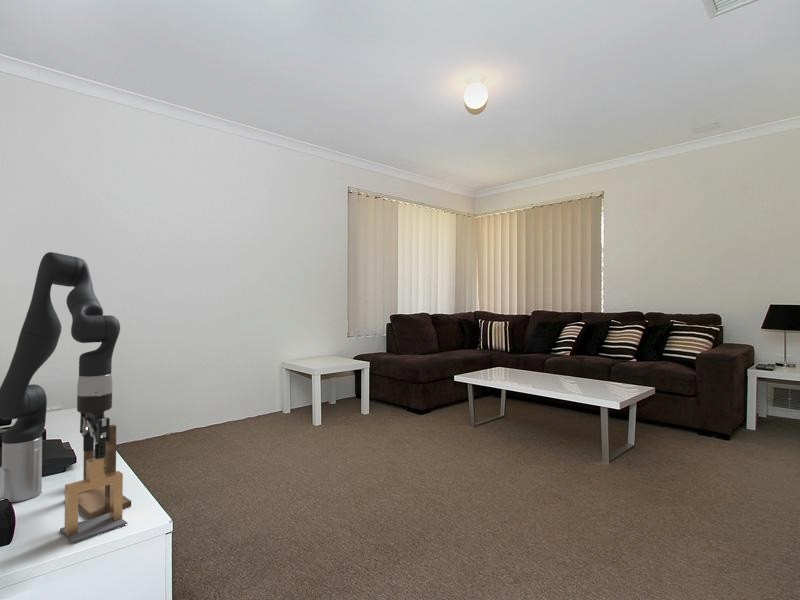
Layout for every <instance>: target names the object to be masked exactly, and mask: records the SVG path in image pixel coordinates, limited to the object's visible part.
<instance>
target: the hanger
mask: <svg viewBox="0 0 800 600" xmlns="http://www.w3.org/2000/svg"><path fill="white" fill-rule="evenodd" d="M123 479H124V475H123V473H122V472H121V471H120V470H116V472H112V473H108V474H104V459H102V458H100V459H95V458H93V459H88V460H86V479H85V480H83V479H82V480H78V481H74V482H69V483H67V484H65V485H64V527H65V534H66V535H67V536H71V535H74V534H77V533H78V523H79V509H78V493H81V492H85V491H88V490H92V489H95V488H99V487H103V486H106V485H110V518H111V519H112V520H113V521H116V520H119V519H123V509H122V499H123V496H124V495H123V491H124V490H123V486H124V485H123V483H124V482H123Z"/></svg>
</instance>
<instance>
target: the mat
mask: <svg viewBox="0 0 800 600" xmlns="http://www.w3.org/2000/svg"><path fill="white" fill-rule="evenodd" d="M125 524H127V525H128V522H127V521H126V520H124V518H122V519H119V520H116V521H113V520H112V519H111V518H110V513H107V514H104V515H101V516H97V517H94V518H91V519H90V518H88V519H85V520H82V521H78V533H77V534H74V535H71V536H67V535H66V534H65V526H64V527H60V528H59V531H60V533H61V534H62V536H64V537H65V538H66V539H67V540H68V541H69V542H70V543H71V544H72V545H73V544H77V543H79V542H82V541H85V540H88V539H91V538H94V537H96V535H97V536H99V535H98V534H100V535H102V534H101V533H103V534H105V533H108V532H111V531H113V529H114V530H117V529H119V528H118V527H120V528H122V527H121V526H123V525H125ZM125 526H126V525H125ZM123 527H124V526H123ZM116 528H117V529H116ZM110 530H111V531H110ZM107 531H108V532H107ZM104 532H105V533H104ZM93 536H94V537H93Z"/></svg>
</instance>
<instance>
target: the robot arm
mask: <svg viewBox="0 0 800 600" xmlns="http://www.w3.org/2000/svg"><path fill="white" fill-rule="evenodd" d="M52 285H57V286H63V287H71V288H72V287H73V289H71V291H69V293H68V295H67V296H66V301H65V302H66V306H67V309H68V311H69V313H70V316H71V318H72V322H71V327H70V332H71V333H70V335H71V337H72V339H73V340H75V341H76V342H78V343H82V344H88V343H101V344H100V345H99V346H98V348H96V349H94V350H91V351H86V352H83V353H81V354H80V355H79V359H78V380H77V384H76V385H77V388H76V389H77V392H76V393H77V394H76V395H77V396H76V411H77V412H78V413H80V423H79V433H80V434H81V437H82V438H83V440H82V441H83V443H82V449H83V452H84V451H85V452H87V451H92V450H93V449H95V451H94V458H95V459H100V458H104V457H105V446H106V442H108V441H110V425H111V424H110V423H111V421H110V417H106V416H105V412H106V411H109V410H111V409H112V407H113V377H112V375H113V374H112V360H113V359H112V358H113V354H114V350H115V348H116V347H115V346H116V344H117V341H118V338H119V335H120V332H121V323H120V321H119V319H118V318H117V317H116V316H113V315H111V314H110V315H107V314H106V315H104V309H103V307H102V305H101V303H100V301H99V300H98V298H97V296H96V293H95V292H94V287H93V281H92V277H91V273H90V268H89V266H88V264H87V261H85V260H84V259H82V258H80V257H78V256H72V255H69V254H68V255H67V254H64V253H63V254H62V253H59V252H54V251H52V252H51V251H49V252H46V253H45V254H44V255H43V256H42V258H41V261H40V262H39V267H38V269H37V274H36V279H35V284H34V287H33V292H32V297H31V300H30V304H29V308H28V310H27V313H26V315H25V318H24V321H23V324H22V327H21V329H20V333H19V336H18V340H17V344H16V348H15V351H14V353H13V357H12V358H11V359H12V360H11V362H10V364H9V368H8V370H7V372H6V375H5V377H4V379H3V380H2V383H1V386H0V419H1V420H4V421H10V420H15V419H17V420H16V421H15V423H13V424H12V426H10V427H9V428H8V429H6V430H5V431H3V433H2V436H1V437H2V438H1V446H2V447H1V466H0V500H1V499H9V500H10V501H11V503H17V502H22V501H23V502H24V501H27V500H31V499H33V498H36V497H38V496H39V495H40V494H42V487H43V483H42V481H43V480H42V479H43V474H42V473H43V472H42V471H43V470H42V469H43V467H42V465H43V457H42V456H43V431H44V428H45V427H46V419H47V406H48V405H47V404H48V402H47V401H48V399H47V398H48V397H47V394H46V391H45V390H44V387H42V386H41V385H39V384H31V380H32V378H33V376H34V375H35V373H36V372H38V371H39V369H40V368H41V367H42V366H43V365H44V364H45V362H47V360H48V359H49V358H50V357H51V356H52V354H54V352H55V350H56V348H57V345H58V342H59V340H60V336H61V334H62V328H63V327H62V323H61V321H60V318H59V316H58V314H57V312H56V310H55V308H54V306H53V303H52V298H51V291H52ZM102 427H103V428H102Z"/></svg>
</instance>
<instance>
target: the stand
mask: <svg viewBox="0 0 800 600" xmlns="http://www.w3.org/2000/svg"><path fill="white" fill-rule="evenodd" d="M102 428H103V427H102ZM94 449H95V448H94ZM94 449H93V450H92V451H87V452H85V451H83V473H82V474H83V479H82V480H85V479H86V460H88V459H93V458H94ZM116 471H117V425H116V424H113V423H112V424H110V441H108V442H106V446H105V474H108V473H112V472H116ZM130 507H132V500H130V499H129V498H128V497H126V496H125V495H123V499H122V510H124V509H126V508H130ZM78 511H80V512H81V513H83V514H84V515H85V516H86V517H87V518H88V519H91V518H94V517H97V516H101V515H104V514H107V513H110V485H106V486H103V487H99V488H95V489H92V490H88V491H85V492H81V493H78Z"/></svg>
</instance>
